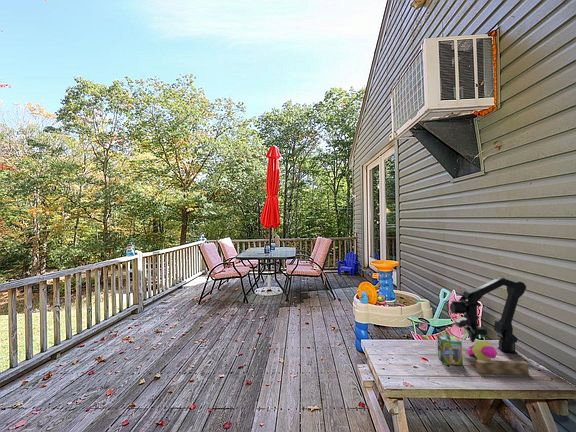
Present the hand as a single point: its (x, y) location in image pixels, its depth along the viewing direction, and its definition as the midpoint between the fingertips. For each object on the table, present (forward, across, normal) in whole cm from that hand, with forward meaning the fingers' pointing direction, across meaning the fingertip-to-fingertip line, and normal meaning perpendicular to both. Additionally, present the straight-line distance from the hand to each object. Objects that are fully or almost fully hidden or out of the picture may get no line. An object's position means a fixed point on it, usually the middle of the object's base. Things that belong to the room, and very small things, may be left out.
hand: (472, 341), depth 160 cm
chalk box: (+5, +14, -18) cm, 24 cm away
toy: (+5, +11, -1) cm, 12 cm away
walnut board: (+4, +25, 0) cm, 25 cm away
